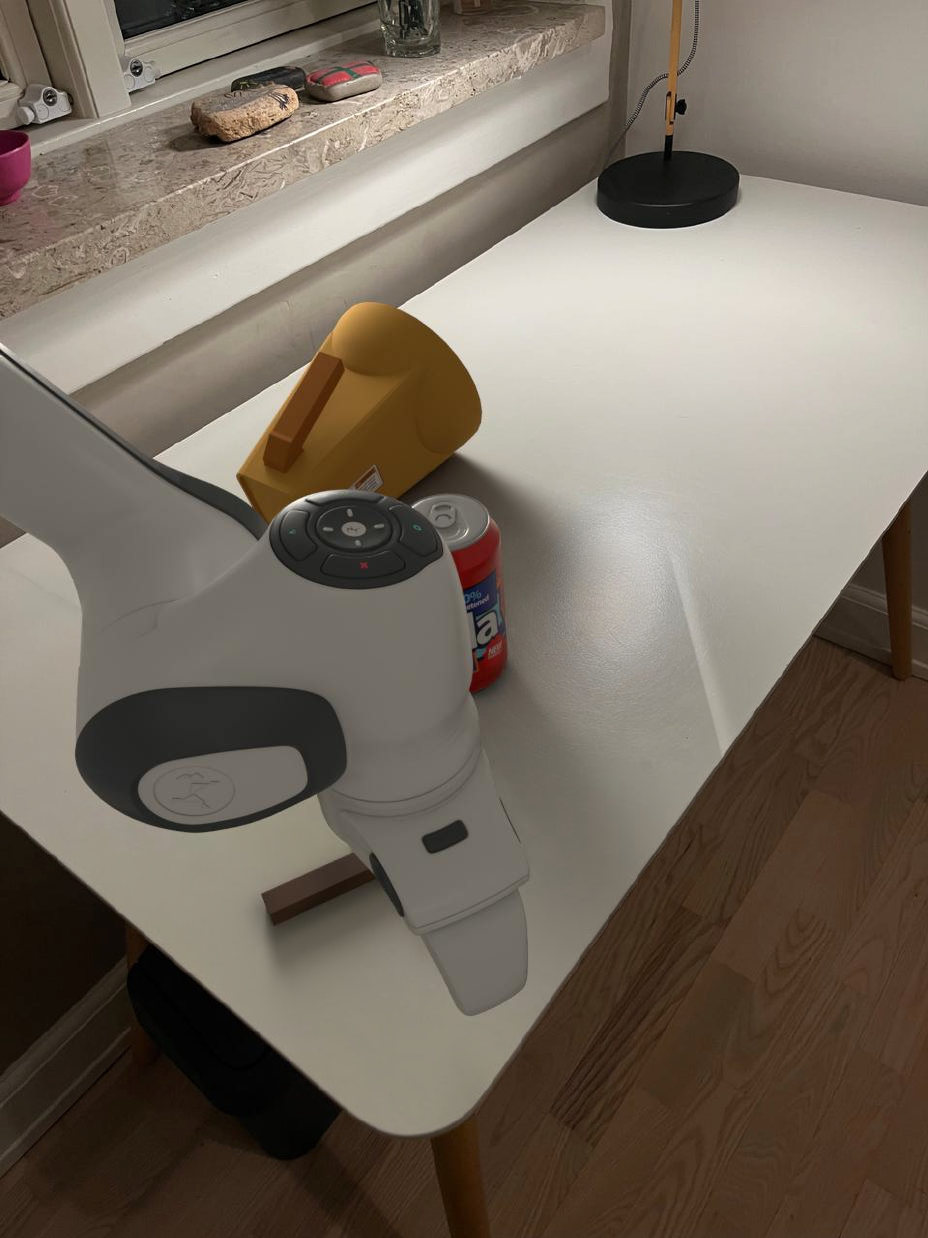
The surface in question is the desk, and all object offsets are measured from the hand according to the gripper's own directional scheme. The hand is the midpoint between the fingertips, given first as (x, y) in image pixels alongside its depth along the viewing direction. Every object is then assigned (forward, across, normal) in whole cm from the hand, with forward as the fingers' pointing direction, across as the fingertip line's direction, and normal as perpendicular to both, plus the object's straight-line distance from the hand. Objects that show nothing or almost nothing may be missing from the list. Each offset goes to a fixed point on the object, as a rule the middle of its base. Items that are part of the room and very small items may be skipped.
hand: (425, 908), depth 63 cm
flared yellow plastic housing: (+4, -47, +14) cm, 49 cm away
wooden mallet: (+4, -7, -2) cm, 8 cm away
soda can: (+4, -21, +12) cm, 25 cm away
